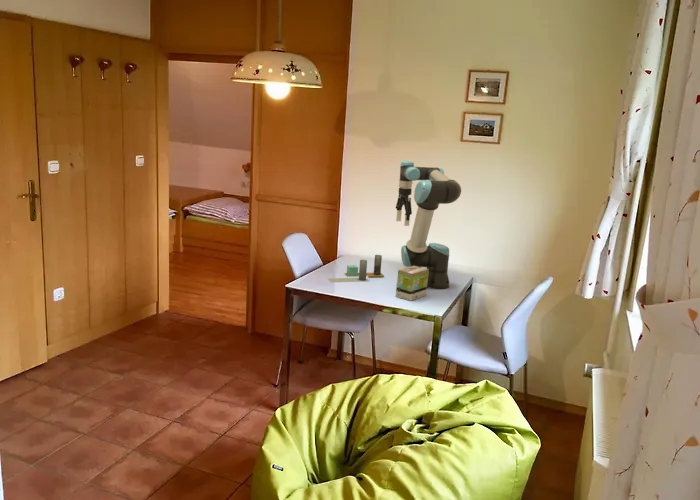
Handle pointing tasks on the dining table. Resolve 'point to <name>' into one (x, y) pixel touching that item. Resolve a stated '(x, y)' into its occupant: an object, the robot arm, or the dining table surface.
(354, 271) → the teal block
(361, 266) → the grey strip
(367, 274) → the tan and grey stand
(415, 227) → the robot arm
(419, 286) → the tea box
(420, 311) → the dining table surface
